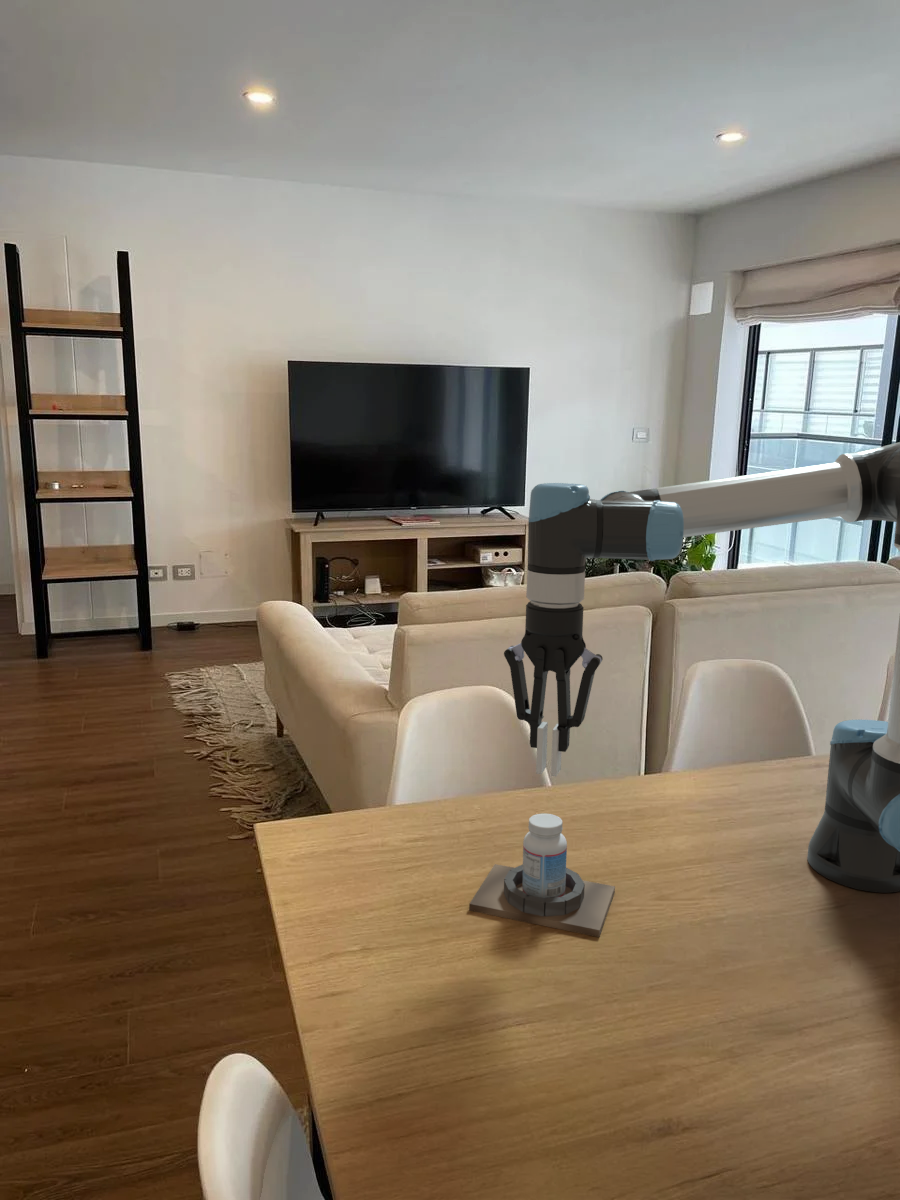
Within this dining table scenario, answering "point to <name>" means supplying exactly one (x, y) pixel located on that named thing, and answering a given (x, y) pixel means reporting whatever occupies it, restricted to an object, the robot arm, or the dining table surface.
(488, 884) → the holder
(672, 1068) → the dining table surface
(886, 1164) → the dining table surface
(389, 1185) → the dining table surface
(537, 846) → the pill bottle
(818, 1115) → the dining table surface
